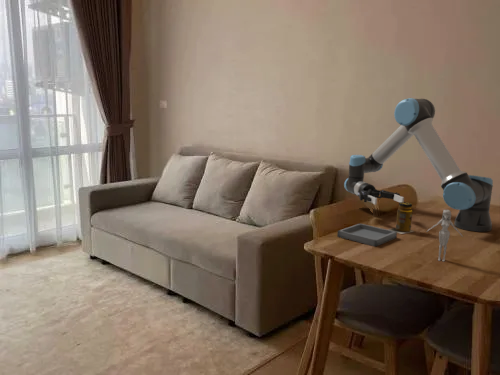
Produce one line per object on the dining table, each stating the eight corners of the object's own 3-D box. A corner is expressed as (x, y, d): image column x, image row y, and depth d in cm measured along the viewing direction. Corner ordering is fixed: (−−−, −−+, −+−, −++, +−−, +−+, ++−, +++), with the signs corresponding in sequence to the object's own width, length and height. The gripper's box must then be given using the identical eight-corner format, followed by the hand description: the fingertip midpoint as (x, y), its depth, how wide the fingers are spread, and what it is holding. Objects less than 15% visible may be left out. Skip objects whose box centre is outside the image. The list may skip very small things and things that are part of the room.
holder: (396, 237, 197) (396, 231, 196) (375, 246, 184) (375, 240, 184) (359, 229, 208) (359, 223, 208) (337, 236, 196) (337, 230, 195)
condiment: (414, 231, 207) (417, 204, 204) (401, 234, 202) (404, 206, 200) (401, 227, 213) (403, 200, 210) (387, 230, 208) (390, 202, 206)
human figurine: (423, 258, 173) (428, 208, 169) (424, 255, 176) (429, 206, 173) (459, 264, 168) (465, 213, 164) (460, 260, 171) (466, 211, 168)
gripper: (386, 197, 239) (412, 208, 219) (341, 199, 232) (363, 210, 212) (388, 182, 237) (414, 191, 218) (342, 183, 230) (365, 193, 210)
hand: (389, 200), depth 215 cm, fingers open, 13 cm apart
